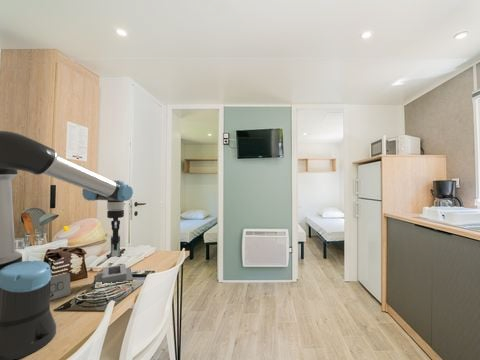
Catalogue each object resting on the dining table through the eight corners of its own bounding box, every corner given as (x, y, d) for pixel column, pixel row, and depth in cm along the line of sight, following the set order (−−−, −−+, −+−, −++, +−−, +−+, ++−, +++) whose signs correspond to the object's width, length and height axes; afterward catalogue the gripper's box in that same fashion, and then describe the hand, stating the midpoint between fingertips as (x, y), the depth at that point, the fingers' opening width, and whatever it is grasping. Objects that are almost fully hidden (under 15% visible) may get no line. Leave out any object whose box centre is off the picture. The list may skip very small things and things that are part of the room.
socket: (132, 281, 107) (133, 273, 107) (94, 289, 99) (94, 280, 99) (130, 269, 123) (130, 262, 123) (96, 275, 115) (97, 267, 115)
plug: (119, 255, 111) (120, 236, 111) (110, 257, 109) (110, 237, 109) (119, 253, 114) (119, 234, 114) (110, 254, 112) (110, 235, 112)
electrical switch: (42, 303, 87) (42, 280, 88) (39, 300, 90) (40, 278, 91) (71, 294, 94) (71, 273, 95) (67, 292, 97) (67, 271, 98)
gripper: (124, 211, 106) (124, 258, 106) (123, 207, 121) (122, 249, 121) (106, 212, 103) (106, 261, 102) (107, 208, 117) (107, 251, 117)
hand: (115, 254), depth 112 cm, fingers closed on plug, 4 cm apart
